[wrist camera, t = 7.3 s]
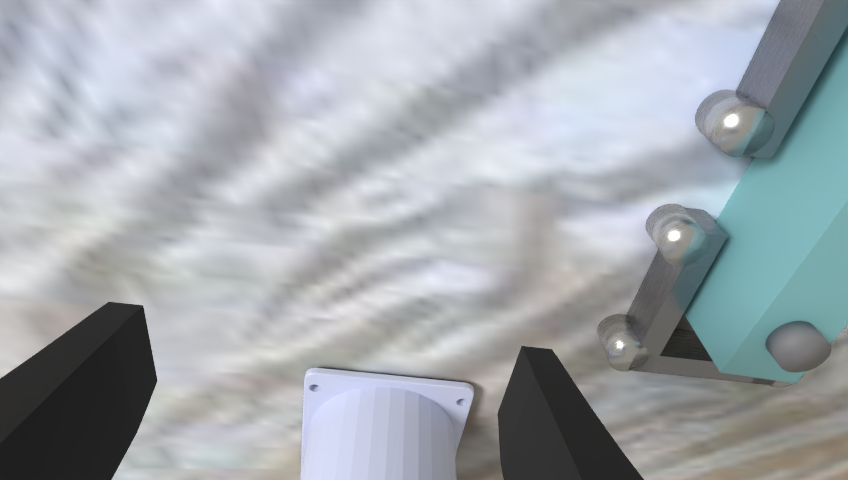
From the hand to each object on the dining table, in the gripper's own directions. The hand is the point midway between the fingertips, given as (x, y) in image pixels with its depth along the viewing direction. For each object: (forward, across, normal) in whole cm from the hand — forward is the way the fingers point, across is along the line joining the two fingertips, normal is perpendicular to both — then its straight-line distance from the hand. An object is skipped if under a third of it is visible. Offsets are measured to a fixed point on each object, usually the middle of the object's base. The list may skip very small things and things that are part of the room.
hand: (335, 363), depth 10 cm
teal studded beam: (+10, -15, -1) cm, 18 cm away
